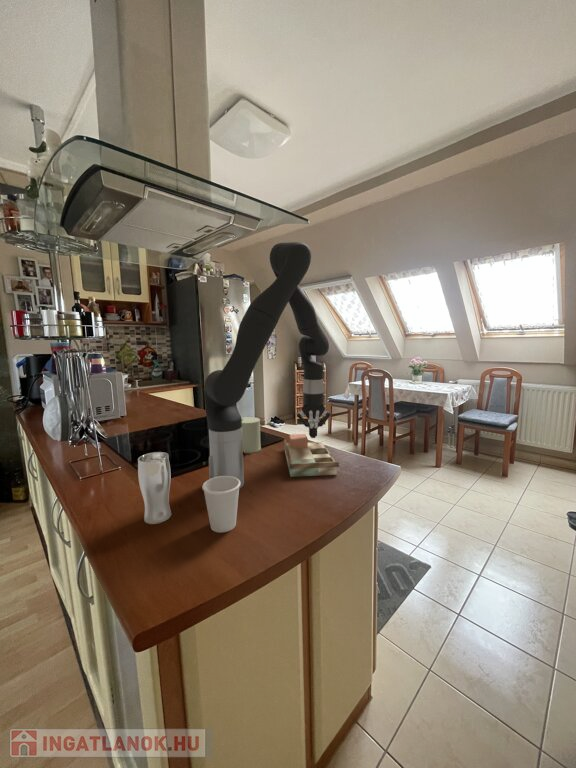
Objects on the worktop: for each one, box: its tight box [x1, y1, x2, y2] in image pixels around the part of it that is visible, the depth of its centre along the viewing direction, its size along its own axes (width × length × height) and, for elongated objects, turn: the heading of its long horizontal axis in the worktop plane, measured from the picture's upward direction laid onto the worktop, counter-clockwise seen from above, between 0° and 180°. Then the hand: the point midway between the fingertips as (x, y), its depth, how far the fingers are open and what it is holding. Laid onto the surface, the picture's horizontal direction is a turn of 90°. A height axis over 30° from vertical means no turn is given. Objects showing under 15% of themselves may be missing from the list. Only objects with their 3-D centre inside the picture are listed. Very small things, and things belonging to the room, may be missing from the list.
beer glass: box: [137, 451, 172, 525], centre depth 75 cm, size 7×7×15 cm
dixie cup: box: [201, 476, 241, 534], centre depth 71 cm, size 8×8×10 cm
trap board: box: [283, 439, 340, 478], centre depth 109 cm, size 15×24×4 cm, turn 5°
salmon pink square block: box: [289, 433, 309, 449], centre depth 117 cm, size 6×6×4 cm
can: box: [241, 416, 262, 454], centre depth 121 cm, size 9×9×12 cm
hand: (313, 437), depth 117 cm, fingers closed
